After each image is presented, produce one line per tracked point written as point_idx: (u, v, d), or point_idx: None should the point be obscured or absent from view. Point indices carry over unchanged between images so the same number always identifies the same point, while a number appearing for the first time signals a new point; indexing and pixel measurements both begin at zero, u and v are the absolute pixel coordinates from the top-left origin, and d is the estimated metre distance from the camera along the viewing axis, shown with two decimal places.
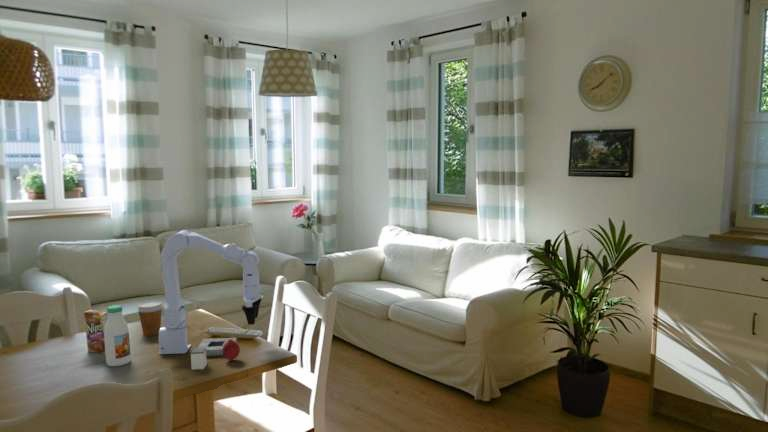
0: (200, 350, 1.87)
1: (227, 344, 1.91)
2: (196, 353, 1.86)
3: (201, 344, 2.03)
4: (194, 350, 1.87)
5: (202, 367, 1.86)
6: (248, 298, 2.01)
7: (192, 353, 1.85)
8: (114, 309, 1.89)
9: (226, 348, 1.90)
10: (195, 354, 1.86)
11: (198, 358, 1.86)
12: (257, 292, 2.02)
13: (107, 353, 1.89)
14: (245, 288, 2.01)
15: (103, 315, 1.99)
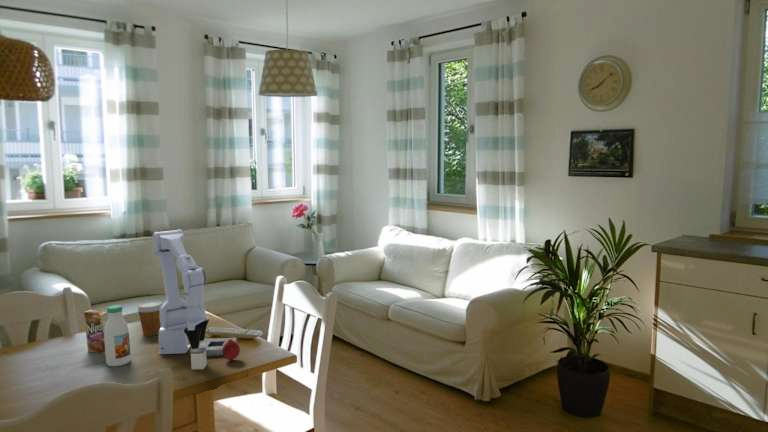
0: (200, 350, 1.87)
1: (227, 344, 1.91)
2: (196, 353, 1.86)
3: (201, 344, 2.03)
4: (194, 350, 1.87)
5: (202, 367, 1.86)
6: (191, 320, 1.83)
7: (192, 353, 1.85)
8: (114, 309, 1.89)
9: (226, 348, 1.90)
10: (195, 354, 1.86)
11: (198, 358, 1.86)
12: (202, 313, 1.84)
13: (107, 353, 1.89)
14: (188, 309, 1.83)
15: (103, 315, 1.99)
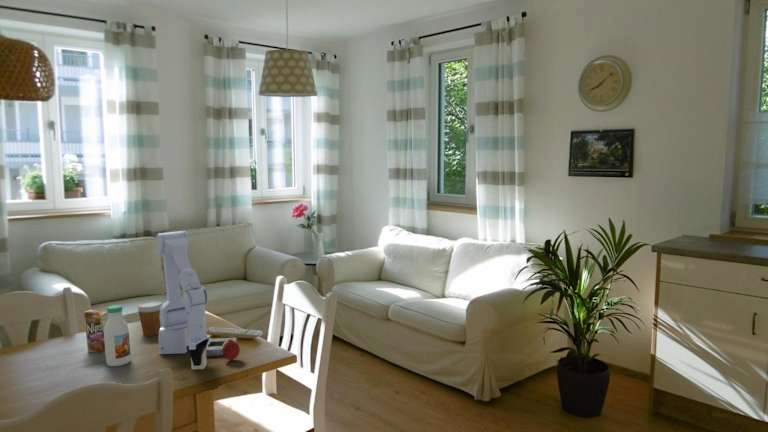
0: None
1: (227, 344, 1.91)
2: None
3: None
4: None
5: (202, 367, 1.86)
6: (192, 339, 1.84)
7: None
8: (114, 309, 1.89)
9: (226, 348, 1.90)
10: None
11: None
12: (203, 332, 1.85)
13: (107, 353, 1.89)
14: (189, 328, 1.84)
15: (103, 315, 1.99)
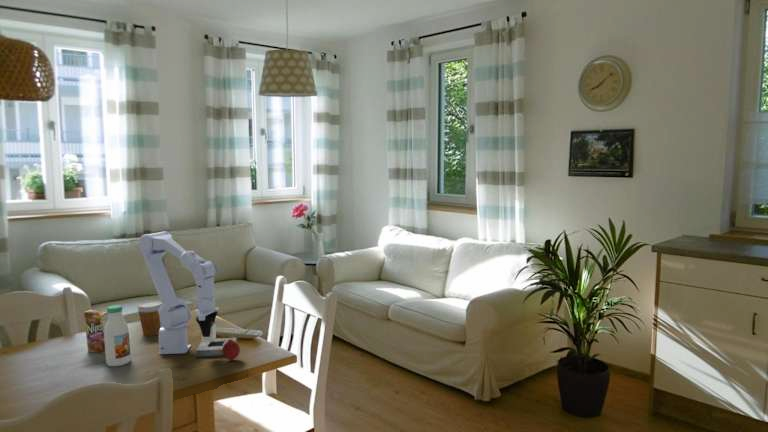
0: None
1: (227, 344, 1.91)
2: None
3: (201, 344, 2.03)
4: None
5: (211, 340, 1.94)
6: (202, 311, 1.92)
7: None
8: (114, 309, 1.89)
9: (226, 348, 1.90)
10: None
11: None
12: (212, 304, 1.93)
13: (107, 353, 1.89)
14: (199, 300, 1.92)
15: (103, 315, 1.99)
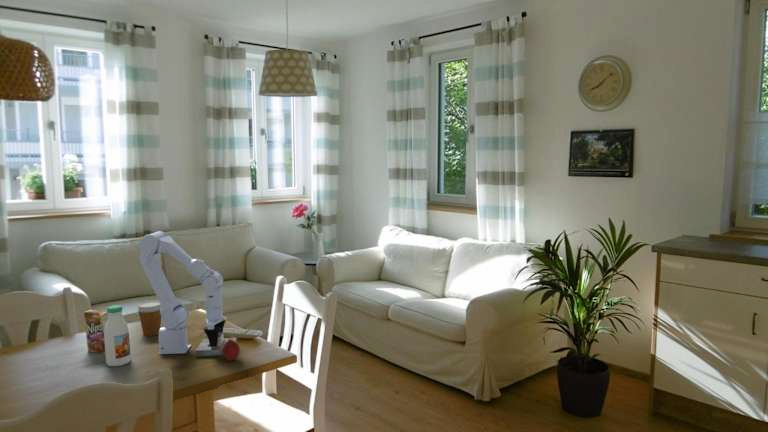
0: (218, 334, 2.02)
1: (227, 344, 1.91)
2: None
3: (201, 344, 2.03)
4: None
5: None
6: (210, 320, 1.99)
7: None
8: (114, 309, 1.89)
9: (226, 348, 1.90)
10: None
11: None
12: (220, 314, 2.00)
13: (107, 353, 1.89)
14: (207, 310, 1.99)
15: (103, 315, 1.99)
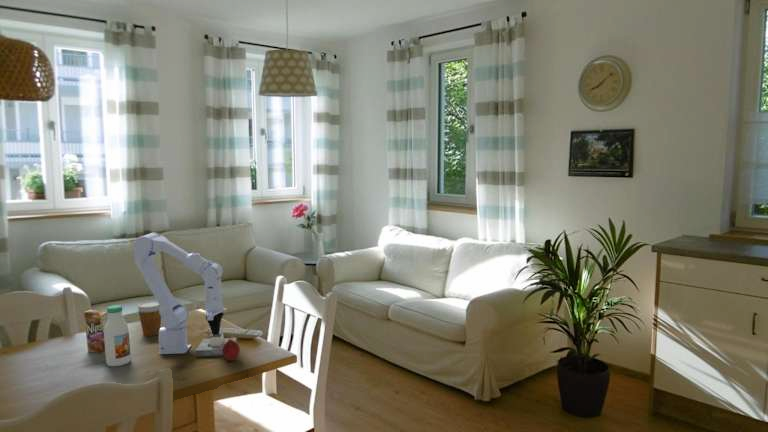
0: (218, 334, 2.02)
1: (227, 344, 1.91)
2: (214, 336, 2.01)
3: (201, 344, 2.03)
4: (212, 334, 2.02)
5: None
6: (210, 311, 1.99)
7: (211, 336, 2.00)
8: (114, 309, 1.89)
9: (226, 348, 1.90)
10: (213, 337, 2.01)
11: (216, 341, 2.01)
12: (219, 305, 2.00)
13: (107, 353, 1.89)
14: (207, 301, 1.99)
15: (103, 315, 1.99)
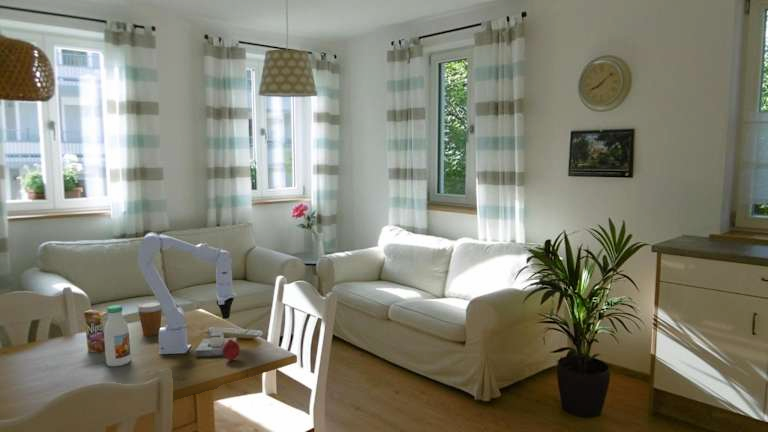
0: (218, 334, 2.02)
1: (227, 344, 1.91)
2: (214, 336, 2.01)
3: (201, 344, 2.03)
4: (212, 334, 2.02)
5: None
6: (221, 296, 2.05)
7: (211, 336, 2.00)
8: (114, 309, 1.89)
9: (226, 348, 1.90)
10: (213, 337, 2.01)
11: (216, 341, 2.01)
12: (230, 290, 2.06)
13: (107, 353, 1.89)
14: (218, 286, 2.05)
15: (103, 315, 1.99)
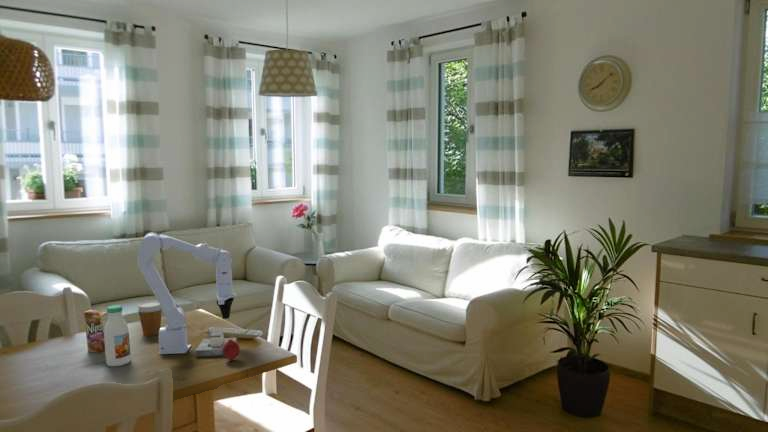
0: (218, 334, 2.02)
1: (227, 344, 1.91)
2: (214, 336, 2.01)
3: (201, 344, 2.03)
4: (212, 334, 2.02)
5: None
6: (221, 296, 2.05)
7: (211, 336, 2.00)
8: (114, 309, 1.89)
9: (226, 348, 1.90)
10: (213, 337, 2.01)
11: (216, 341, 2.01)
12: (230, 290, 2.06)
13: (107, 353, 1.89)
14: (218, 286, 2.05)
15: (103, 315, 1.99)
